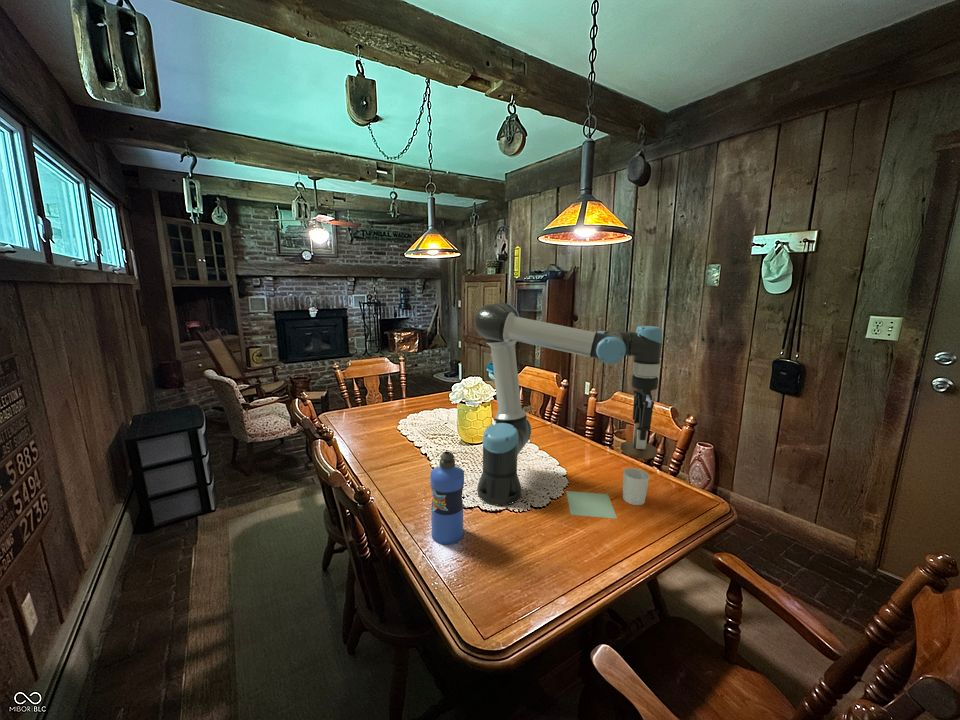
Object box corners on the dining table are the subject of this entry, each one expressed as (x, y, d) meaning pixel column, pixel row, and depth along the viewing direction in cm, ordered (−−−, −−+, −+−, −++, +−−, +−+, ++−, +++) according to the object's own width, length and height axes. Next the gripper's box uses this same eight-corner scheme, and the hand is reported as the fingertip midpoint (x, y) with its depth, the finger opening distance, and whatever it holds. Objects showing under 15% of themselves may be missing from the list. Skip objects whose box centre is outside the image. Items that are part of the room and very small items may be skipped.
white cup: (619, 503, 123) (622, 475, 121) (622, 492, 130) (625, 465, 128) (645, 510, 120) (648, 481, 118) (647, 498, 127) (650, 471, 125)
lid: (625, 457, 117) (627, 429, 115) (617, 443, 127) (619, 417, 126) (662, 459, 115) (665, 431, 114) (650, 445, 126) (653, 419, 124)
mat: (570, 516, 116) (570, 514, 116) (566, 492, 130) (566, 490, 129) (617, 520, 114) (617, 518, 114) (607, 495, 128) (607, 494, 128)
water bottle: (447, 520, 113) (446, 442, 109) (470, 533, 107) (471, 451, 103) (424, 535, 106) (422, 453, 101) (447, 550, 100) (447, 463, 96)
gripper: (667, 382, 108) (659, 457, 113) (649, 370, 124) (643, 437, 129) (640, 381, 109) (633, 456, 114) (626, 369, 125) (621, 435, 129)
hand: (638, 445), depth 121 cm, fingers closed on lid, 3 cm apart
